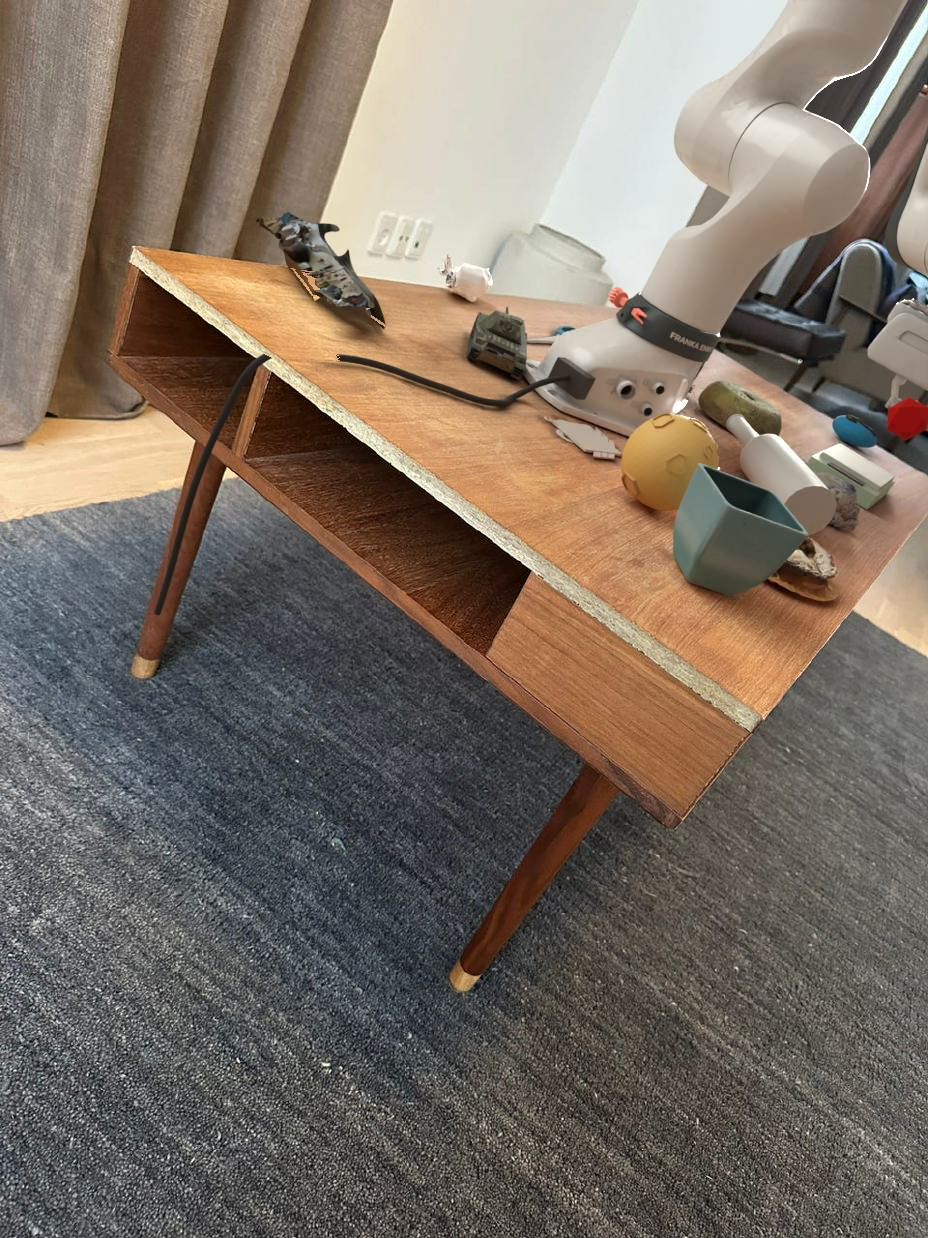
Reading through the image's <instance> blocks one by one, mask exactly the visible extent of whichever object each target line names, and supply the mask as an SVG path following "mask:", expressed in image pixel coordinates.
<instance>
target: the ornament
mask: <svg viewBox="0 0 928 1238" xmlns="http://www.w3.org/2000/svg"><path fill="white" fill-rule="evenodd" d="M831 424H832V425H831V426H832V430H833V432H834V433H835V435H837V437H838V438H839V439H841V440H842V441H843V442H845V443H847V444H849V445H852V446H854V447H857V448H858V447H859V448H865V449H866V448H867V449H869V448H874V447H876V445H877V443H878V441H877V434H876V432H875V431H874V429H873V428H872V427H869V426H868V425H867V422H866V421H865V420H863V419H861V418H859V417H857V416H854V415H852V414H847V415H845V414H844V415H838V416H836V417H835V418H834V419H833V420H832V422H831Z"/></svg>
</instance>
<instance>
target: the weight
mask: <svg viewBox="0 0 928 1238" xmlns="http://www.w3.org/2000/svg"><path fill="white" fill-rule="evenodd" d="M705 388H706V389H703V390H702V391H701V393H700V394H699V396H698V399H697V400H698V401H697V402H698V405H699V407H700V409H701V410H702V411H703V412H704V413H705V414H706V415H707V416H708V417H709V418H711V419H712V420H714V421H715V422H717V423H718V424H720V425H721V426H722V427H724V428H726V429H727V427H726V423H727V420H728V419H729V417H731V416H732V415H734V414H740V415H742V416H744V418H745V420H746V422H747V423H748V424H749V425H750V426H751V427H752V429H753V430H754V431H755V432H756V433H757V434H758V435H764V434H773V435H776V436H778V437H780V434H781V432H782V428H783V425H782V424H783V423H782V414H781V413H780V411H779V410H778V409H777V408H776V407H775V406H774V405H773V404H771V403H770V402H769V401H767V399H765V398H763V397H762V396H761V395H759V394H757V393H756V392H754V391H752V390H750V389H748V388H747V387H744V386H742V385H740V384H737V383H735V382H731V381H730V380H725V379H723V380H722V379H721V380H716V381H715V380H714V381H712V382H711V383H709V384H708V385H707V386H705Z"/></svg>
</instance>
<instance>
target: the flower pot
mask: <svg viewBox="0 0 928 1238" xmlns="http://www.w3.org/2000/svg"><path fill="white" fill-rule="evenodd" d="M807 537H810V535H809V534H808V533H807V531H806V530H805V529H804V527H803V526H802V525H801V524H800V523H799V522H798V520H797V519H796V518H795V517H794V516H793V514H792V513H791V512H790V511H789V510H788V508H787V507H786V506H785V505H784V503H783V502H782V501H781V500H780V498H779V497H778V496H777V495H776V494H775V493H774V492H773V491H771V490H768V489H766V488H763V487H761V486H758V485H756V484H753V483H751V482H750V481H749V480H745V479H743V478H740V477H737V476H735V475H732V474H730V473H727V472H724V471H721V470H717V469H714V468H712V467H709V466H707V465H704V464H700V463H699V464H698V466H697V468H696V470H695V472H694V474H693V477H692V479H691V481H690V483H689V486H688V488H687V490H686V492H685V495H684V497H683V499H682V501H681V504H680V506H679V509H678V510H677V513H676V515H675V521H674V525H673V534H672V554H673V558H674V559H675V561H676V563H677V565H678V566H679V568H680V570H681V572H682V574H683V576H684V578H685V579H686V581H687V582H688V583H691V584H694V585H696V586H700V587H702V588H705V589H708V590H711V591H713V592H716V593H719V594H722V595H725V596H728V597H735V596H738V595H741V594H742V593H745V592H747V591H751V590H752V589H753V588H754V589H755V588H756V587H758V586H760V585H761V584H762V583H764V582H765V581H767V580H769V579H768V578H769V577H770V576H772V575H773V574H774V573H775V572H776V571H777V570H778V569H779V568H780V567H781V566H782V565H783V563H784V562H785V561H786V560H787V559H788V558H789V557H790V556H791V555H792V554H793V553H794V552H795V550H796V549H797V548H798V547H799V546H800V545H801V544H802V543H803V542H804V540H805V539H806V538H807Z"/></svg>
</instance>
